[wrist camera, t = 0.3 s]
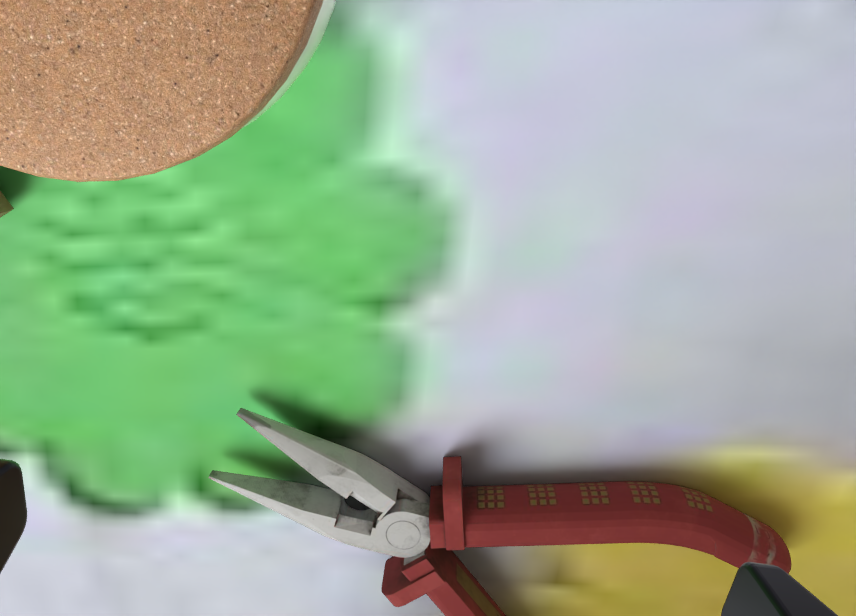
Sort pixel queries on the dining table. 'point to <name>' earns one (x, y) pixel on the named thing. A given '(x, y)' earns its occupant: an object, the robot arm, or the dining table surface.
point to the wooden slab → (4, 205)
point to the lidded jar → (142, 79)
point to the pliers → (485, 517)
